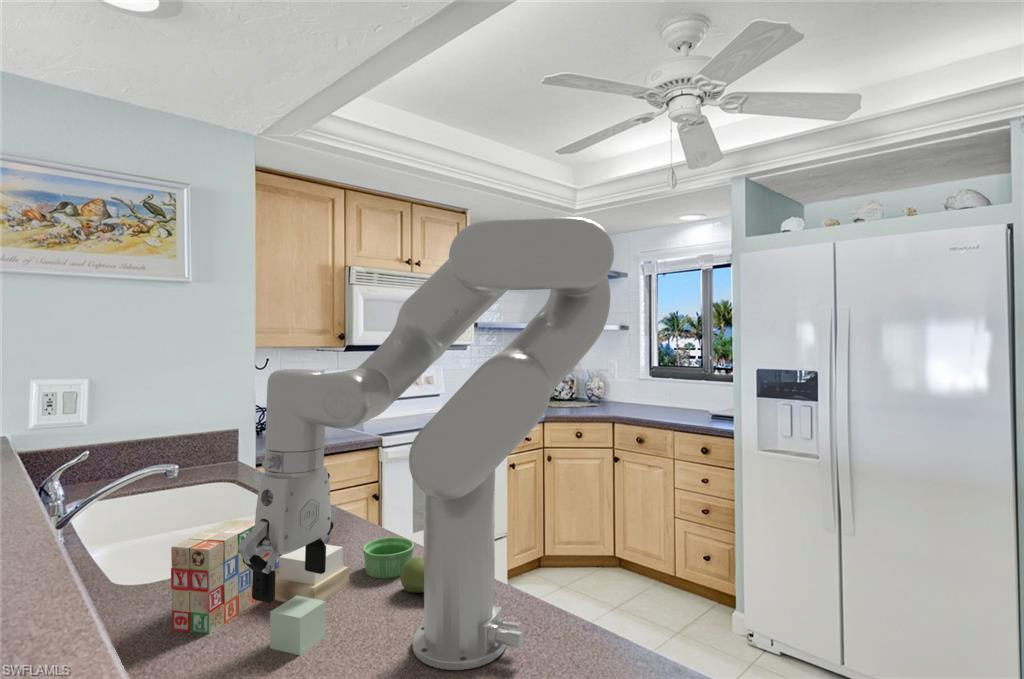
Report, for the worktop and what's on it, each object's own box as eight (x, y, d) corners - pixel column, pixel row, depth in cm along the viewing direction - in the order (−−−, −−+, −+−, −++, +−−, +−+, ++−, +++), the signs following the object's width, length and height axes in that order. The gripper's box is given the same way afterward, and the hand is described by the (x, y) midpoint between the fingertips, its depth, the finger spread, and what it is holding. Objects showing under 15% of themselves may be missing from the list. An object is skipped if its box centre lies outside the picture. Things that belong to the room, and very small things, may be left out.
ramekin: (398, 583, 95) (397, 557, 95) (352, 576, 98) (352, 551, 98) (423, 563, 104) (422, 539, 104) (380, 557, 107) (380, 534, 107)
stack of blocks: (265, 570, 101) (264, 502, 101) (297, 573, 100) (296, 503, 100) (170, 631, 80) (169, 545, 80) (209, 635, 79) (208, 548, 79)
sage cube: (325, 637, 78) (325, 601, 78) (300, 656, 74) (300, 618, 74) (297, 630, 80) (296, 595, 80) (270, 648, 75) (270, 611, 75)
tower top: (343, 567, 94) (343, 547, 94) (315, 585, 88) (314, 562, 88) (309, 562, 97) (309, 541, 97) (279, 578, 90) (279, 557, 90)
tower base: (348, 587, 95) (348, 567, 95) (314, 610, 87) (314, 588, 87) (308, 580, 98) (307, 560, 98) (271, 602, 90) (270, 580, 90)
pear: (418, 548, 96) (465, 570, 91) (414, 578, 96) (460, 601, 91) (395, 559, 91) (443, 583, 86) (391, 590, 92) (439, 616, 87)
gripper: (267, 477, 67) (263, 620, 68) (356, 451, 84) (352, 566, 84) (220, 470, 70) (216, 607, 70) (315, 446, 86) (312, 558, 86)
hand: (290, 585), depth 77 cm, fingers open, 9 cm apart
